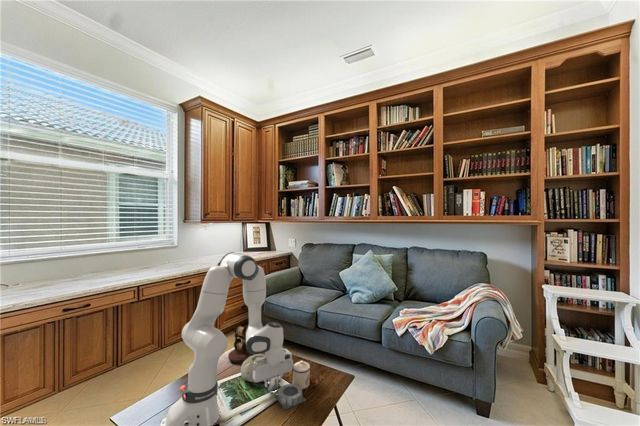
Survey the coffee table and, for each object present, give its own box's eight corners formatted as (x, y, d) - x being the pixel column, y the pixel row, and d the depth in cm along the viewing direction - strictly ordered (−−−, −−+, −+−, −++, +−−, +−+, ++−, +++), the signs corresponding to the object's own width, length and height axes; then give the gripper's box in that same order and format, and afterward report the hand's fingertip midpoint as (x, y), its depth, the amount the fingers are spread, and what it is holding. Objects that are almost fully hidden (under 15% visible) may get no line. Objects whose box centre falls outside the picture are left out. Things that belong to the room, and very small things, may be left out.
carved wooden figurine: (258, 356, 162) (259, 323, 162) (239, 367, 149) (240, 332, 150) (242, 349, 170) (243, 318, 170) (222, 359, 157) (223, 325, 157)
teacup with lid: (309, 390, 131) (309, 366, 131) (291, 389, 132) (291, 365, 132) (311, 375, 143) (311, 354, 143) (294, 374, 144) (294, 353, 144)
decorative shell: (254, 392, 129) (255, 371, 129) (233, 378, 139) (233, 359, 140) (281, 375, 143) (281, 356, 143) (259, 363, 154) (260, 346, 154)
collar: (284, 410, 118) (284, 402, 118) (274, 395, 127) (274, 388, 127) (306, 401, 123) (306, 393, 124) (295, 388, 133) (295, 381, 133)
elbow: (270, 395, 127) (271, 380, 127) (266, 388, 132) (266, 374, 132) (280, 391, 130) (280, 377, 130) (275, 385, 135) (276, 371, 135)
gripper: (255, 365, 123) (254, 395, 123) (294, 353, 134) (294, 381, 134) (251, 358, 128) (250, 387, 128) (289, 348, 139) (288, 374, 139)
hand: (273, 384), depth 131 cm, fingers closed on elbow, 5 cm apart
